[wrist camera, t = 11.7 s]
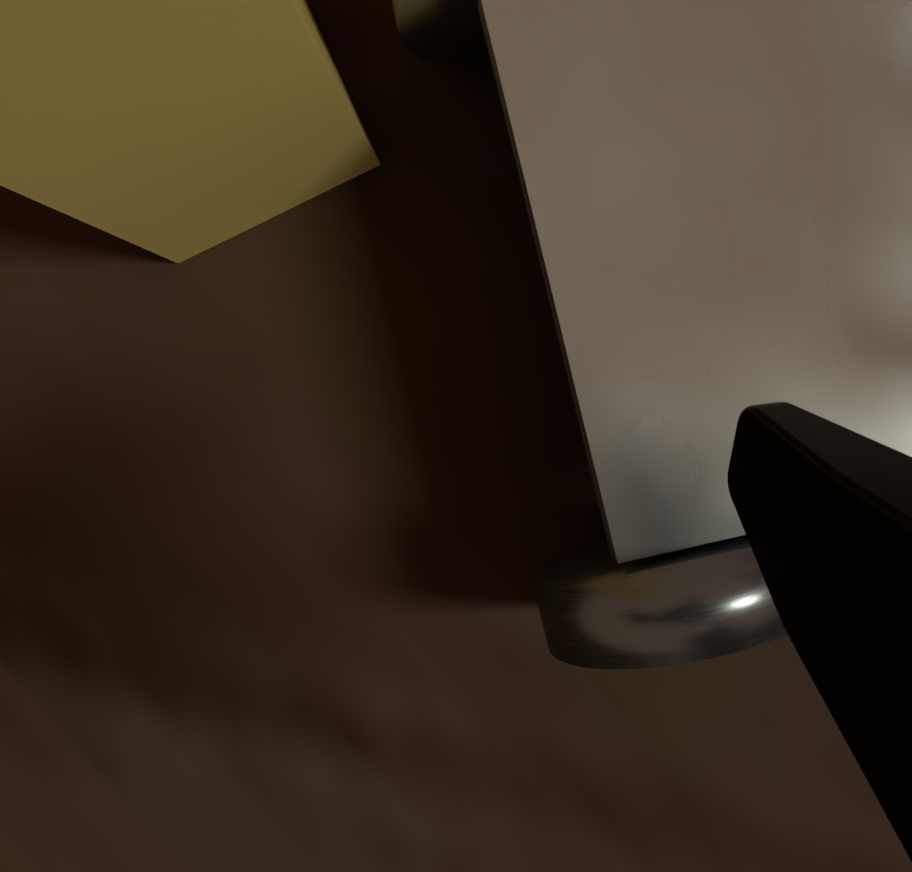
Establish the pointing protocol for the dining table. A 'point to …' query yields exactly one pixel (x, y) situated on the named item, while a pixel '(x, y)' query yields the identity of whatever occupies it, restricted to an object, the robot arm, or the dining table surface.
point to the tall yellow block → (173, 115)
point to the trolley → (699, 271)
